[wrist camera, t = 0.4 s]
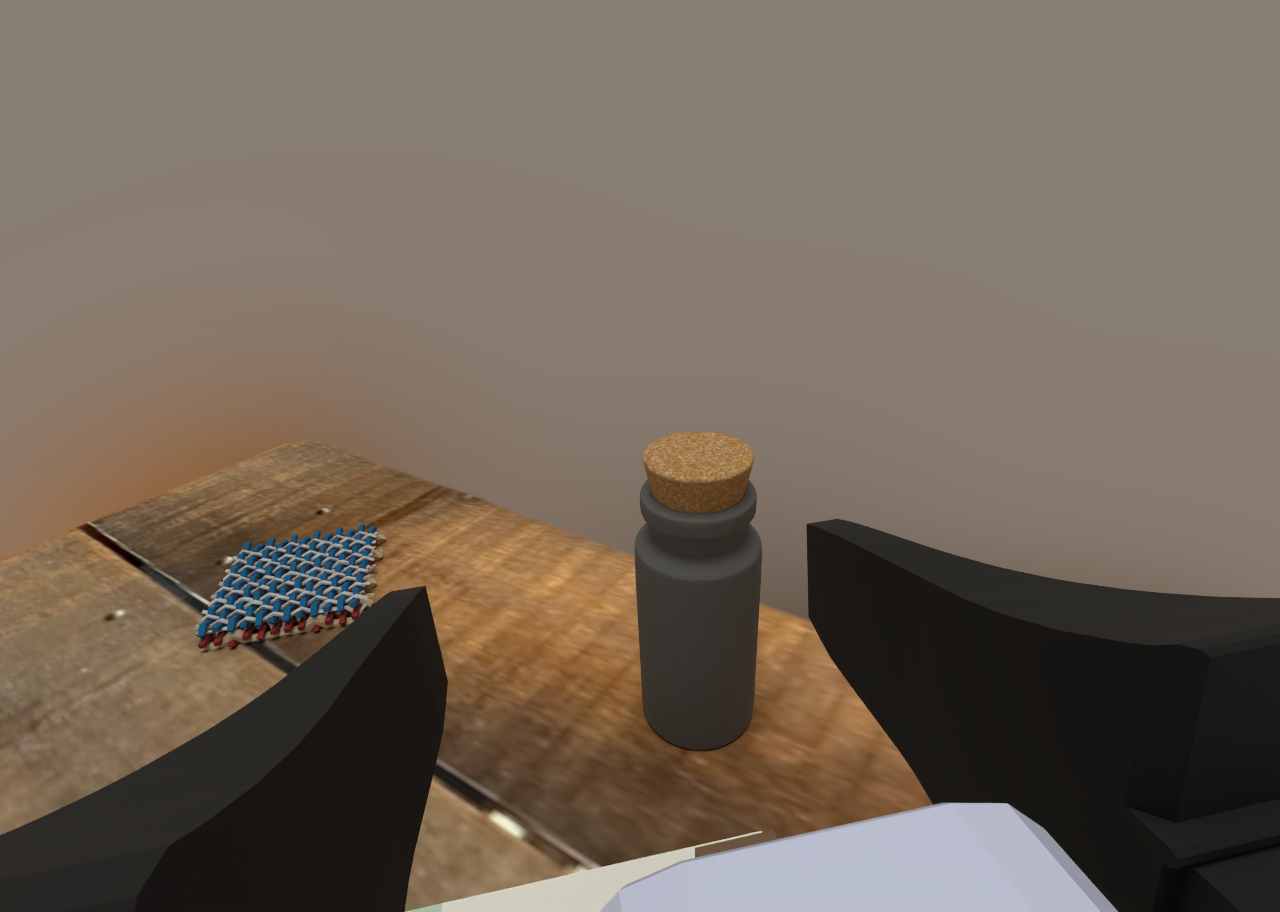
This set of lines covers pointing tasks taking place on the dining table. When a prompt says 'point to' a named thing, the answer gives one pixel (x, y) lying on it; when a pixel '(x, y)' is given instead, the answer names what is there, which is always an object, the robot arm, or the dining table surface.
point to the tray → (429, 909)
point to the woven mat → (292, 588)
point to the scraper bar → (735, 843)
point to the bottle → (698, 588)
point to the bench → (573, 887)
